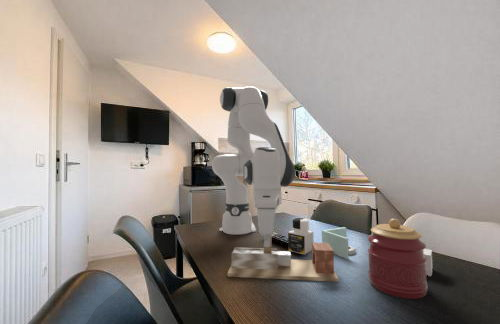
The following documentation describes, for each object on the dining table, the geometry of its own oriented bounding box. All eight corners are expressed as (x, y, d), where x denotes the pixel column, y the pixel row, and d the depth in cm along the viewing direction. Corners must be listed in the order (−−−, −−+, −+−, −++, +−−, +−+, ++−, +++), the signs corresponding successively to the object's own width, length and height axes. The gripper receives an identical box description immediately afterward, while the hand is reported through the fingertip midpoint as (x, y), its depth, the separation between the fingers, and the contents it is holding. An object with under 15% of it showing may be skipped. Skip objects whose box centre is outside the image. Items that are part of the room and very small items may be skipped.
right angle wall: (346, 260, 78) (346, 238, 78) (322, 249, 89) (321, 230, 89) (370, 255, 83) (370, 234, 83) (344, 245, 94) (344, 227, 94)
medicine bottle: (287, 250, 87) (287, 219, 87) (297, 246, 92) (297, 216, 93) (304, 255, 82) (304, 221, 82) (314, 250, 87) (313, 218, 88)
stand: (227, 276, 66) (227, 250, 66) (235, 260, 78) (234, 238, 78) (338, 281, 62) (337, 254, 63) (328, 263, 74) (327, 240, 75)
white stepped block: (232, 263, 70) (232, 233, 71) (234, 259, 73) (233, 230, 74) (291, 266, 68) (290, 235, 69) (290, 261, 71) (289, 232, 72)
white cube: (431, 276, 65) (430, 255, 65) (406, 271, 69) (405, 250, 69) (432, 269, 70) (431, 249, 70) (408, 264, 73) (408, 245, 74)
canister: (360, 274, 66) (358, 214, 67) (405, 275, 66) (403, 214, 67) (385, 300, 53) (383, 224, 54) (441, 300, 53) (438, 224, 54)
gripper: (259, 194, 82) (259, 233, 82) (254, 202, 62) (254, 254, 61) (277, 194, 81) (277, 233, 81) (277, 202, 61) (278, 254, 61)
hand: (267, 242), depth 71 cm, fingers open, 6 cm apart
